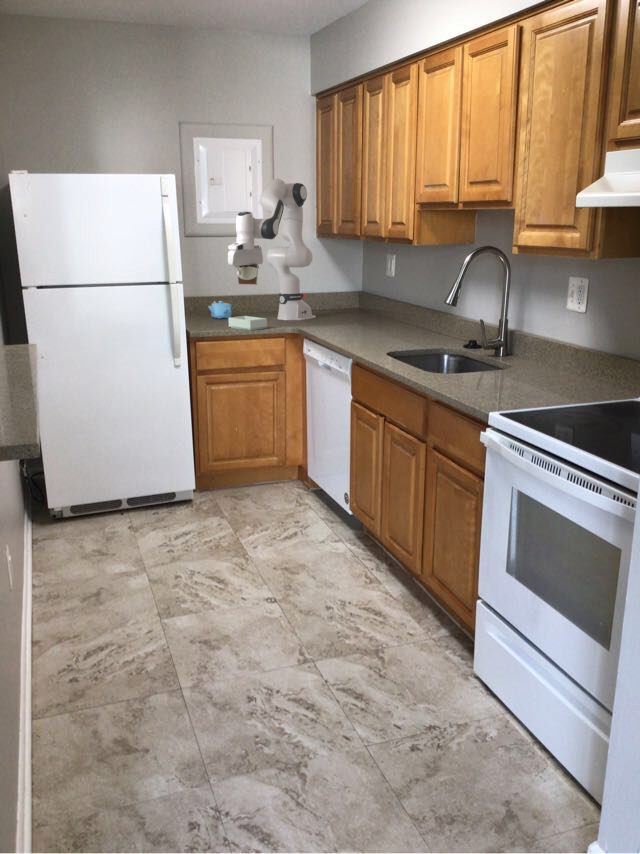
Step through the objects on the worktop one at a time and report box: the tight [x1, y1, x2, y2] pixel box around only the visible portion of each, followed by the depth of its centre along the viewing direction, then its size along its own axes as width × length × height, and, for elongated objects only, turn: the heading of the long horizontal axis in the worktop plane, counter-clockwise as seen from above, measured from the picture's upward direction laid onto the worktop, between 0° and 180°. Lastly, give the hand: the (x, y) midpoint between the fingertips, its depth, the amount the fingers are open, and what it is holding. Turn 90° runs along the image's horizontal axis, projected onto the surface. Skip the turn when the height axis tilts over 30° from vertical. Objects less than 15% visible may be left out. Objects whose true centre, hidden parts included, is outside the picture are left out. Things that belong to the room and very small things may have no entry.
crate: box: [227, 315, 268, 332], centre depth 388 cm, size 11×17×5 cm, turn 46°
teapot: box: [207, 300, 232, 320], centre depth 423 cm, size 18×14×10 cm
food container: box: [236, 264, 260, 286], centre depth 383 cm, size 12×6×10 cm, turn 76°
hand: (246, 274), depth 382 cm, fingers open, 8 cm apart
